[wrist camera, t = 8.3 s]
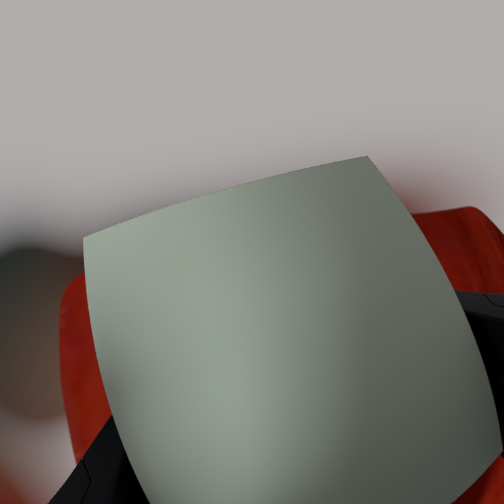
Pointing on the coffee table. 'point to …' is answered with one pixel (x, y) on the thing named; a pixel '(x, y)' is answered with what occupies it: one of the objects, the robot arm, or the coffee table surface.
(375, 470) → the bulging sage box
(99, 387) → the coffee table surface
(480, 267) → the coffee table surface
